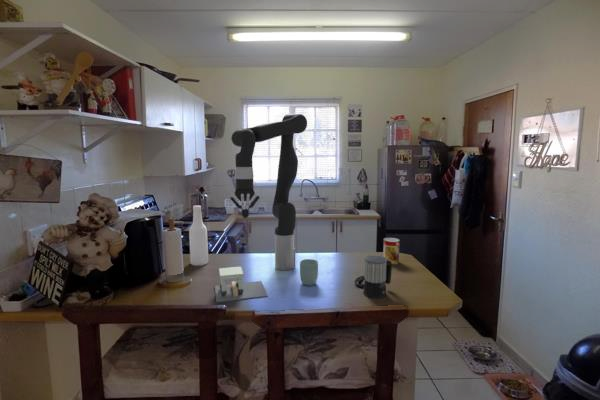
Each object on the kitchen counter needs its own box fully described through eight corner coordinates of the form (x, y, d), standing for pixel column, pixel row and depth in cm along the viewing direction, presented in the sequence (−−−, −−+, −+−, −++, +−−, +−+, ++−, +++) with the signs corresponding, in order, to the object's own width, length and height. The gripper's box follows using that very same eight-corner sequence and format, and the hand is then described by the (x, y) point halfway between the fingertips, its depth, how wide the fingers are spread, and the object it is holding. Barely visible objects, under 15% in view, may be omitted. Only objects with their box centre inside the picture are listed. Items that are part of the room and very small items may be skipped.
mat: (261, 282, 154) (261, 276, 153) (267, 296, 139) (267, 290, 138) (214, 286, 148) (214, 280, 148) (216, 302, 133) (216, 295, 133)
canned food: (400, 264, 178) (401, 241, 176) (384, 264, 178) (385, 241, 176) (396, 259, 185) (397, 237, 184) (381, 259, 186) (382, 237, 184)
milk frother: (381, 300, 135) (382, 264, 133) (344, 291, 144) (345, 256, 142) (393, 288, 147) (395, 254, 145) (359, 280, 155) (360, 248, 153)
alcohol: (195, 260, 184) (192, 204, 180) (210, 261, 183) (208, 204, 178) (187, 265, 175) (184, 207, 171) (204, 266, 174) (201, 207, 170)
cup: (319, 281, 154) (320, 260, 153) (314, 288, 147) (315, 265, 145) (303, 279, 157) (303, 258, 155) (297, 286, 149) (297, 263, 148)
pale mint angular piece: (240, 266, 147) (219, 268, 144) (243, 273, 138) (220, 275, 136) (241, 286, 148) (219, 288, 146) (243, 294, 139) (220, 297, 137)
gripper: (258, 176, 153) (259, 215, 155) (227, 177, 149) (228, 216, 152) (261, 177, 146) (261, 218, 148) (229, 178, 142) (230, 220, 144)
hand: (245, 217), depth 150 cm, fingers closed
